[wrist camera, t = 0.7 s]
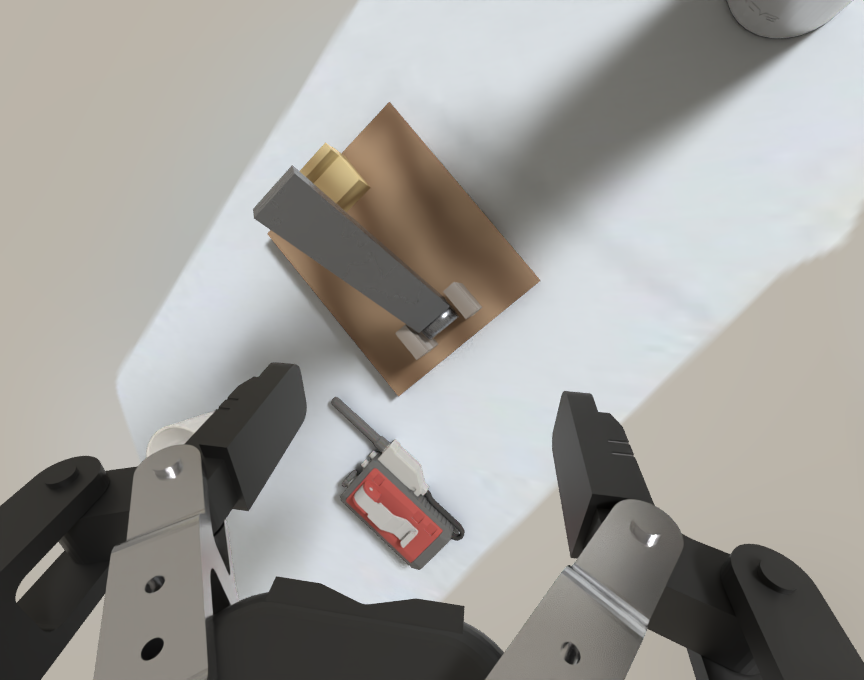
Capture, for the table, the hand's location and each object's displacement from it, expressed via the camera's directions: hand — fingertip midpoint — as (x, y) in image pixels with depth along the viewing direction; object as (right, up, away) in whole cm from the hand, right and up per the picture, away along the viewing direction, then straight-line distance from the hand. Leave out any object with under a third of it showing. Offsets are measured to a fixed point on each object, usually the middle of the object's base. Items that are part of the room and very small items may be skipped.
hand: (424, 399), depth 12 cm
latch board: (-3, +10, +28) cm, 30 cm away
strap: (-4, +7, +18) cm, 20 cm away
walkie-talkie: (-5, -13, +32) cm, 35 cm away
